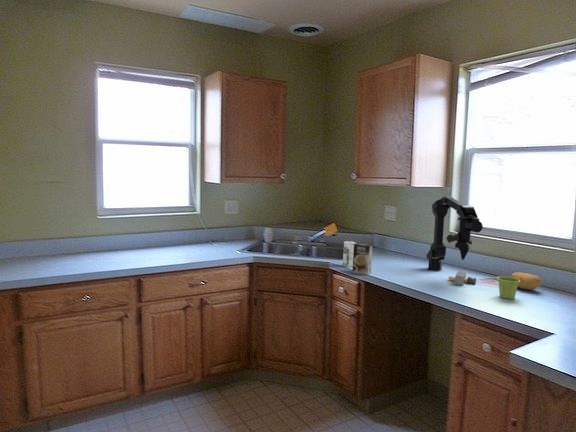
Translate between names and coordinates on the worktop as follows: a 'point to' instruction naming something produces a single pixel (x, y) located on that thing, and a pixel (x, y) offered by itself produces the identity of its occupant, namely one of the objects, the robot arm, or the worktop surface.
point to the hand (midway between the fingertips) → (462, 259)
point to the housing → (460, 277)
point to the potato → (527, 280)
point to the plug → (468, 280)
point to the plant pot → (508, 287)
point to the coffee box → (362, 258)
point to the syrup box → (348, 253)
